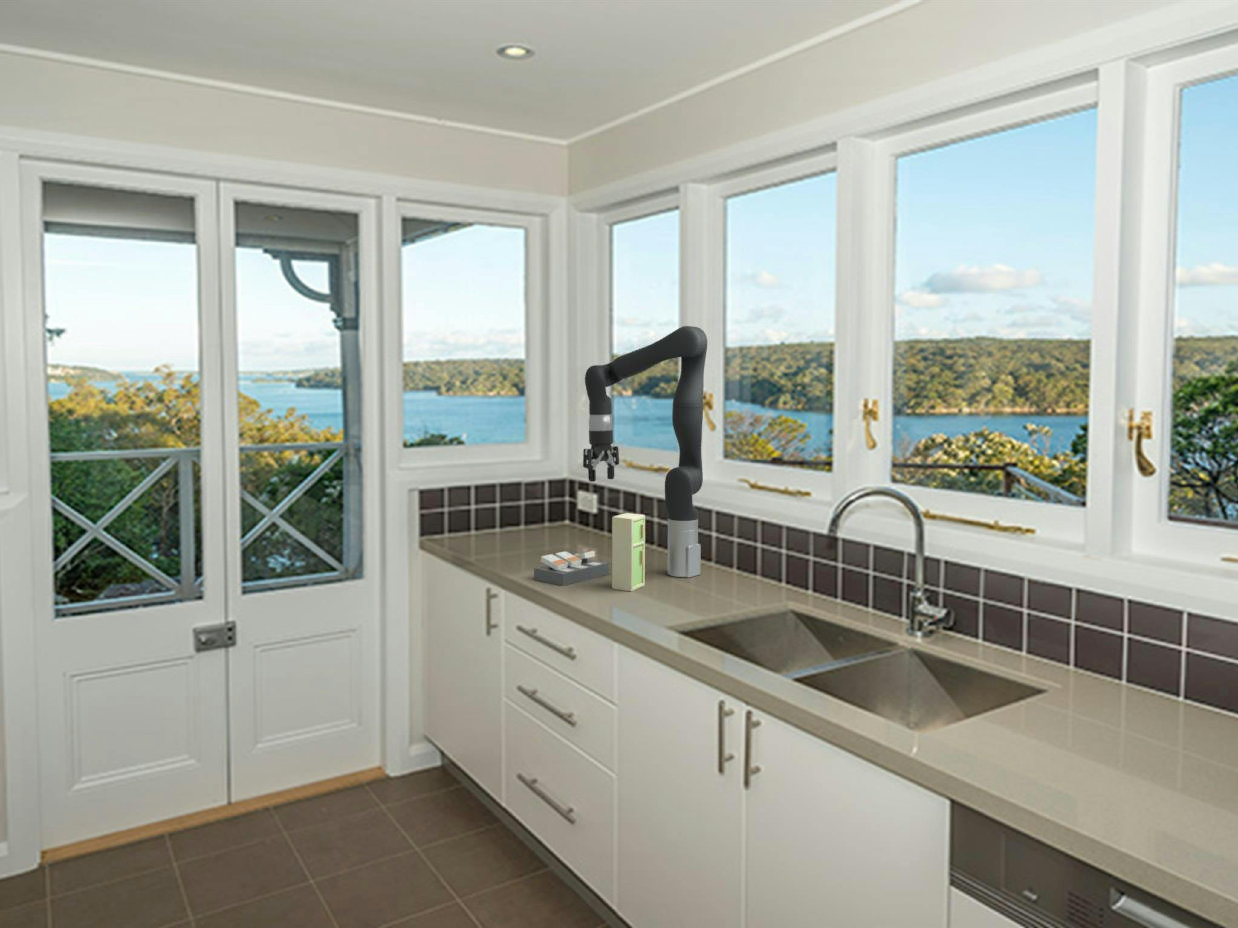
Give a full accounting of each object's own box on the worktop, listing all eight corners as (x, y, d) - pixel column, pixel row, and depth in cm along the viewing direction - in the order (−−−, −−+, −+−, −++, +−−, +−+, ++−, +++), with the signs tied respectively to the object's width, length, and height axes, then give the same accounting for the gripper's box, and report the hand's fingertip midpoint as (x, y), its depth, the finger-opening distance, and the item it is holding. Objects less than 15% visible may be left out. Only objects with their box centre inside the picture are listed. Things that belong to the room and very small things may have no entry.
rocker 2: (595, 556, 288) (594, 550, 288) (585, 558, 285) (584, 552, 285) (579, 558, 293) (578, 553, 293) (569, 561, 290) (568, 555, 290)
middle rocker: (580, 564, 284) (581, 559, 284) (570, 567, 281) (571, 561, 280) (564, 555, 288) (565, 550, 288) (554, 558, 285) (555, 552, 285)
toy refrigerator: (633, 592, 265) (633, 518, 263) (611, 588, 269) (611, 516, 267) (647, 586, 272) (647, 514, 270) (625, 583, 276) (625, 512, 274)
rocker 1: (567, 568, 280) (568, 562, 279) (556, 570, 276) (557, 564, 276) (550, 558, 284) (551, 553, 283) (540, 561, 281) (541, 555, 280)
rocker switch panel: (617, 572, 291) (617, 558, 290) (562, 585, 273) (562, 571, 272) (588, 566, 298) (588, 553, 298) (534, 579, 280) (534, 565, 280)
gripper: (594, 430, 287) (595, 483, 289) (624, 428, 298) (625, 478, 299) (576, 429, 292) (577, 481, 294) (607, 427, 303) (608, 477, 304)
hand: (601, 480), depth 296 cm, fingers open, 8 cm apart
